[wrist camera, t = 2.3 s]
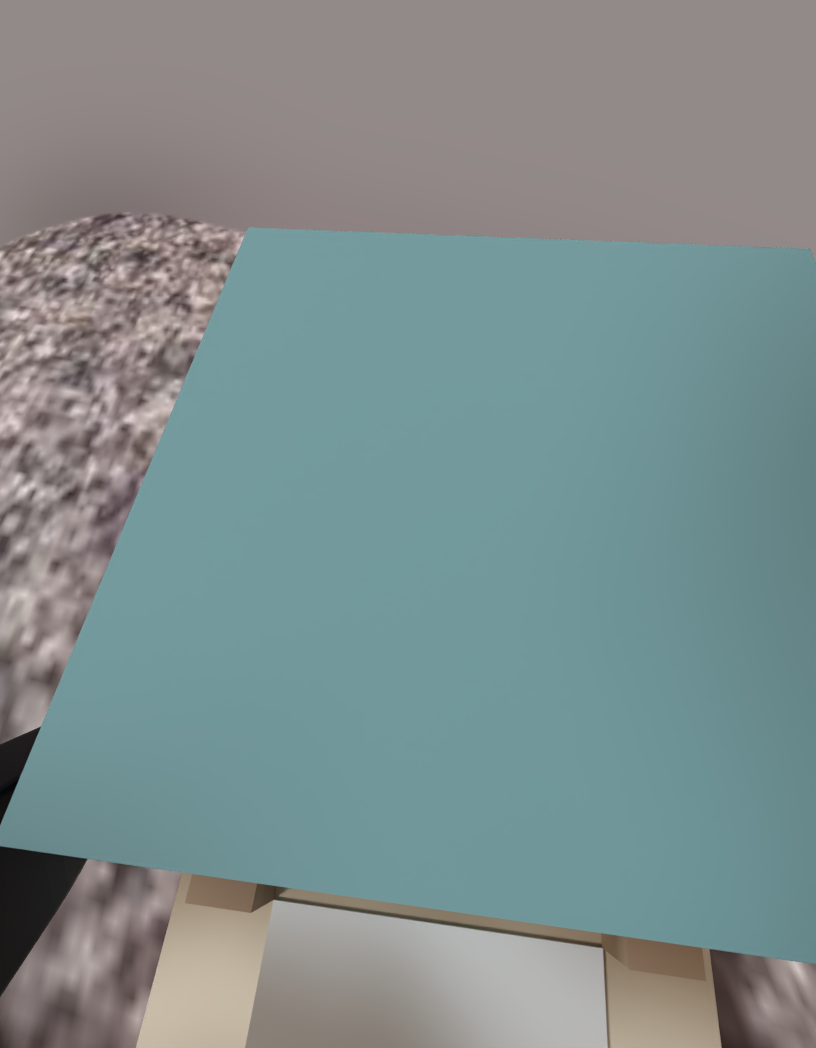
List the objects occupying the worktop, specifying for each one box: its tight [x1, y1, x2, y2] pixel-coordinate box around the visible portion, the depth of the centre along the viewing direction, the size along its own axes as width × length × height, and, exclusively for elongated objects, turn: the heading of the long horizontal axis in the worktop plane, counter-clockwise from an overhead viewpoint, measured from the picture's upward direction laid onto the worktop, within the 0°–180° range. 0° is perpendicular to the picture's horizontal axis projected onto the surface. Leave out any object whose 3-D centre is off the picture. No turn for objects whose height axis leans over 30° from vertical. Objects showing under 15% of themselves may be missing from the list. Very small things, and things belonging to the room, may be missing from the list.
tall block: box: [0, 228, 816, 964], centre depth 9 cm, size 5×5×13 cm
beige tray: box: [136, 873, 722, 1048], centre depth 15 cm, size 22×13×4 cm, turn 174°
